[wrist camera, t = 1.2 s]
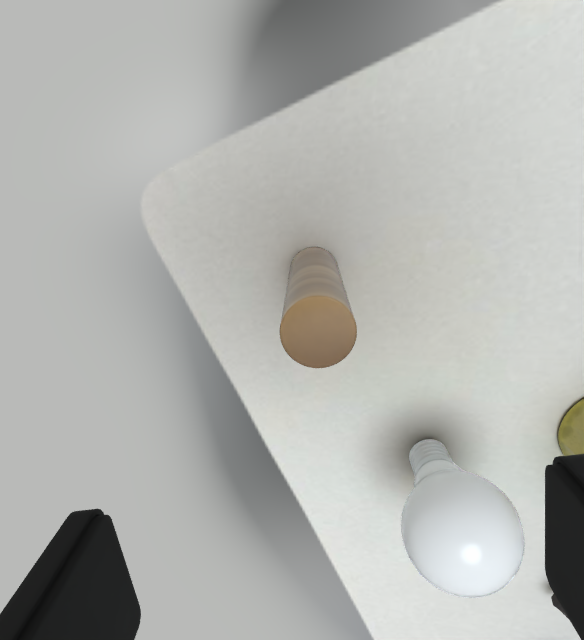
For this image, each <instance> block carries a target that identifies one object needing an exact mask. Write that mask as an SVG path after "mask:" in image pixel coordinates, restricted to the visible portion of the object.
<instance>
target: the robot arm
mask: <svg viewBox="0 0 584 640" xmlns="http://www.w3.org/2000/svg"><path fill="white" fill-rule="evenodd" d="M545 571H546V576H547V579H548V582H549V584H550V587H551V588H552V590H553V592H554V594H555V595H556V597H557V599H558V601H559V602H560V604H561V606H562V607H563V609H564V611H565V613H566V614H567V616H568V618H569V619H570V621H571V623H572V624H573V626H574V628H575V630H576V631H577V633H578V635H579V636H580V638H581V640H584V454H576V455H567V456H559V457H555V458H554V460H553V465H548V466H546V470H545ZM140 617H141V611H140V606H139V602H138V599H137V596H136V593H135V590H134V587H133V584H132V581H131V578H130V575H129V571H128V568H127V565H126V562H125V559H124V556H123V553H122V550H121V547H120V544H119V541H118V538H117V534H116V531H115V529H114V526H113V523H112V519H111V517H110V516H109V515H104V513H103V512H102V511H101V510H100V509H92V510H83V511H75V512H72V513H71V514H70V515H69V516H68V517H67V519H66V520H65V521H64V523H63V525H62V526H61V527H60V529H59V530H58V532H57V533H56V535H55V536H54V537H53V539H52V540H51V542H50V543H49V545H48V546H47V547H46V549H45V550H44V552H43V553H42V555H41V556H40V558H39V559H38V561H37V562H36V563H35V565H34V566H33V568H32V569H31V571H30V572H29V573H28V575H27V576H26V578H25V579H24V581H23V582H22V584H21V585H20V586H19V588H18V589H17V591H16V592H15V594H14V595H13V597H12V598H11V599H10V601H9V602H8V604H7V605H6V607H5V608H4V609H3V611H2V612H1V614H0V640H134V638H135V636H136V633H137V630H138V628H139V624H140Z"/></svg>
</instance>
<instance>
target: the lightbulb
mask: <svg viewBox="0 0 584 640" xmlns="http://www.w3.org/2000/svg"><path fill="white" fill-rule="evenodd" d="M409 461H410V463H411V466H412V469H413V472H414V475H415V480H414V488H413V490H412V491H411V493H410V494H409V496H408V498H407V500H406V502H405V505H404V508H403V512H402V518H401V533H402V539H403V543H404V547H405V549H406V552H407V554H408V556H409V558H410V560H411V562H412V564H413V565H414V567H415V568H416V569H417V571H418V572H419V573H420V574H421V575H422V576H423V577H424V578H425V579H426V580H427V581H428V582H429V583H431V584H432V585H433V586H435V587H436V588H438V589H440V590H442V591H444V592H446V593H448V594H451V595H454V596H458V597H464V598H479V597H484V596H488V595H491V594H493V593H495V592H497V591H499V590H501V589H502V588H504V587H505V586H506V585H507V584H508V583H509V582H510V581H511V580H512V579H513V578H514V576H515V575H516V573H517V572H518V570H519V568H520V565H521V563H522V559H523V555H524V547H525V539H524V531H523V526H522V523H521V520H520V517H519V515H518V512H517V510H516V509H515V507H514V505H513V504H512V502H511V501H510V499H509V498H508V497H507V496H506V495H505V493H504V492H503V491H502V490H501V489H499V488H498V487H497V486H496V485H495V484H493V483H492V482H490V481H489V480H487V479H485V478H484V477H481V476H479V475H477V474H474V473H471V472H467V471H463V470H462V469H461V468H460V467H459V466H457V465H456V464H454V463H453V460H452V458H451V456H450V454H449V452H448V450H447V448H446V447H445V445H444V444H442V443H441V442H439V441H437V440H433V439H426V440H422V441H420V442H418V443H417V444H415V445H414V446H413V447H412V449H411V451H410V454H409Z"/></svg>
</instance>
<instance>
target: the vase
mask: <svg viewBox="0 0 584 640" xmlns="http://www.w3.org/2000/svg"><path fill="white" fill-rule="evenodd" d="M558 440H559V445H560V448H561V450H562V453H563V455H564V456H567V455H576V454H584V399H582V400H581V401H579V402H578V403H576V404H575V405H574V406H573V407H572V408H571V409H570V410H569V411H568V412H567V414H566V415H565V417H564V418H563V420H562V423H561V425H560V428H559V433H558Z"/></svg>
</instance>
